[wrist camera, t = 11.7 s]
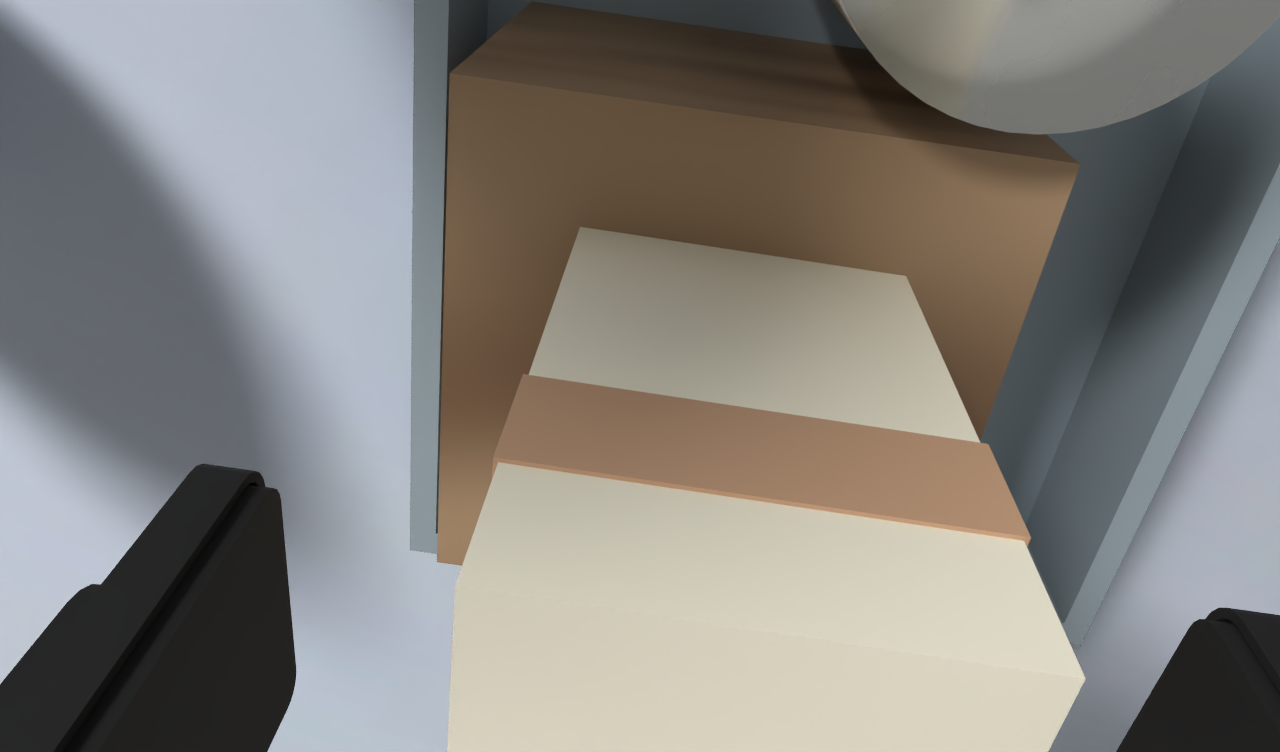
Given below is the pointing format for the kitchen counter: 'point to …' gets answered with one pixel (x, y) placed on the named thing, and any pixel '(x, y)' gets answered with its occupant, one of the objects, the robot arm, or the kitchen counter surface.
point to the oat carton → (747, 528)
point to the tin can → (1054, 54)
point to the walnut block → (714, 196)
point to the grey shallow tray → (1060, 307)
